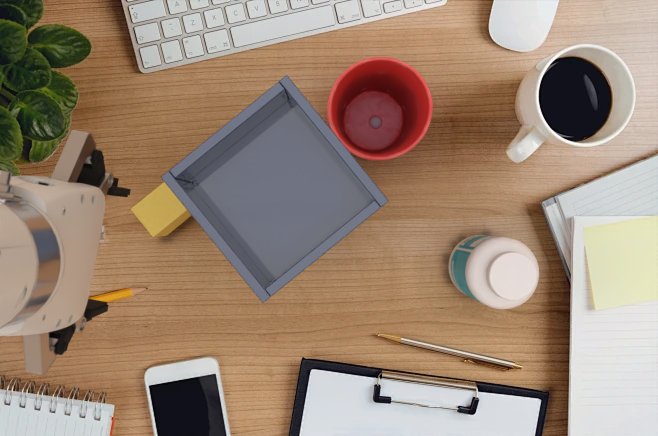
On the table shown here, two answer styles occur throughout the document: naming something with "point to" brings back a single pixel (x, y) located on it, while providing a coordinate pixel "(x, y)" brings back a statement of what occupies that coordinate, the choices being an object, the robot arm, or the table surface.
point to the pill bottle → (494, 270)
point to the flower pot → (380, 108)
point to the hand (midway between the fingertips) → (101, 246)
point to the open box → (274, 189)
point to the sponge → (161, 211)
